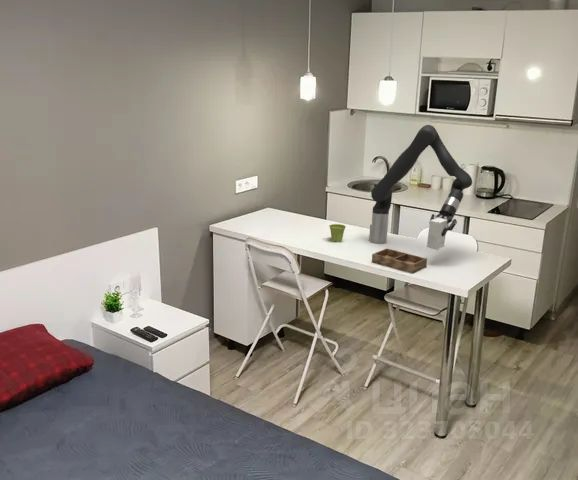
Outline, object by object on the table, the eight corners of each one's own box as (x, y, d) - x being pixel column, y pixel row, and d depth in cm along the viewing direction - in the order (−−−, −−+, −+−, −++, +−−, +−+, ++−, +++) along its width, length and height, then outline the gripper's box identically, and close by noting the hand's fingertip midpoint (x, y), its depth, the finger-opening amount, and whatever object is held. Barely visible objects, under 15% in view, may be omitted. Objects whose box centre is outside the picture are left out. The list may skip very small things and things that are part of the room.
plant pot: (325, 239, 354) (326, 224, 351) (339, 237, 358) (340, 223, 355) (333, 243, 346) (334, 229, 343) (348, 241, 350) (348, 227, 347)
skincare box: (434, 244, 320) (437, 216, 316) (444, 247, 316) (448, 219, 312) (426, 247, 314) (429, 219, 310) (436, 250, 310) (439, 222, 306)
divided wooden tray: (371, 262, 316) (372, 254, 315) (386, 256, 326) (387, 248, 325) (412, 273, 301) (413, 264, 300) (426, 266, 311) (427, 258, 310)
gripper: (435, 200, 319) (421, 227, 314) (461, 206, 310) (447, 233, 305) (439, 209, 325) (425, 234, 320) (464, 214, 316) (451, 241, 311)
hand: (436, 234), depth 312 cm, fingers closed on skincare box, 6 cm apart
